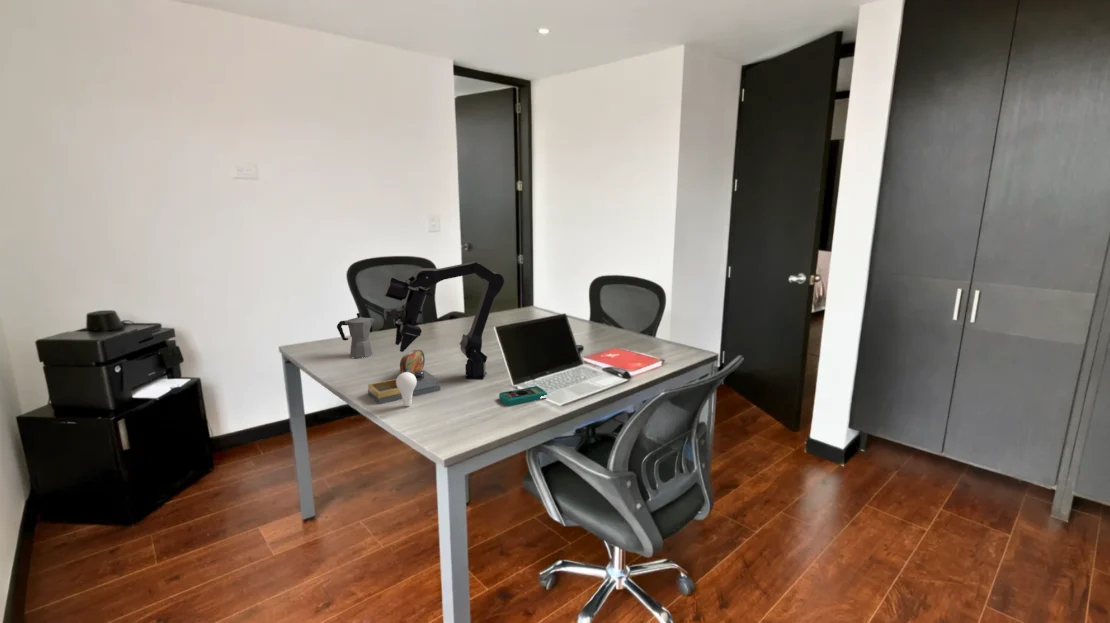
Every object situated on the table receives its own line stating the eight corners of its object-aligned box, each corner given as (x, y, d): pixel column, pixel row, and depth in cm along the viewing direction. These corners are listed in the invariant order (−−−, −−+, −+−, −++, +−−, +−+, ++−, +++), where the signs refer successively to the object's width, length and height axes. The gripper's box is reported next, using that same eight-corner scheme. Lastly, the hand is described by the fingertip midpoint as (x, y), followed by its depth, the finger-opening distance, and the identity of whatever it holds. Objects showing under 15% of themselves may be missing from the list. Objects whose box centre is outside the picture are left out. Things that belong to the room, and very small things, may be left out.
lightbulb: (419, 402, 162) (418, 369, 159) (415, 410, 156) (413, 375, 153) (400, 402, 161) (398, 369, 159) (395, 410, 156) (393, 375, 153)
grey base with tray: (426, 381, 181) (426, 365, 180) (440, 390, 172) (439, 373, 171) (368, 393, 168) (366, 376, 167) (379, 404, 160) (378, 386, 159)
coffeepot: (373, 350, 218) (370, 309, 215) (381, 355, 211) (378, 313, 208) (336, 356, 209) (332, 313, 205) (343, 362, 202) (339, 317, 198)
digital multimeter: (497, 400, 165) (497, 391, 165) (537, 392, 173) (537, 384, 172) (506, 408, 159) (506, 399, 159) (548, 399, 166) (548, 391, 166)
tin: (407, 381, 181) (405, 358, 179) (398, 380, 182) (397, 358, 180) (425, 368, 195) (424, 347, 194) (418, 367, 196) (417, 346, 194)
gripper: (386, 293, 176) (371, 335, 177) (394, 303, 160) (378, 349, 160) (417, 302, 181) (403, 343, 182) (428, 312, 165) (413, 357, 166)
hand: (399, 348), depth 172 cm, fingers open, 9 cm apart
